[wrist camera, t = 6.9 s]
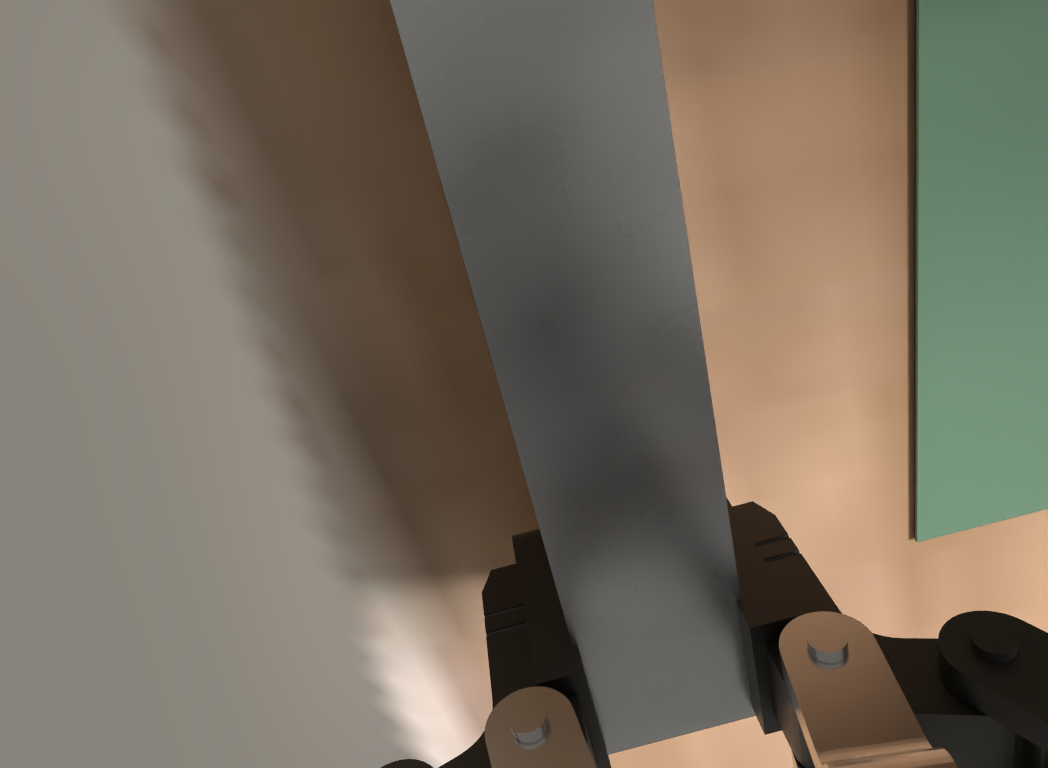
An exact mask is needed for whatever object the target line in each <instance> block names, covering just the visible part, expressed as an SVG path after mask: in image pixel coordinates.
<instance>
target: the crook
mask: <svg viewBox="0 0 1048 768" xmlns="http://www.w3.org/2000/svg"><path fill="white" fill-rule="evenodd" d="M390 3H391V6H392V10H393V13H394V17H395V21H396V24H397V28H398V31H399V35H400V38H401V42H402V45H403V49H404V52H405V56H406V59H407V63H408V66H409V70H410V73H411V77H412V81H413V84H414V88H415V91H416V95H417V98H418V102H419V105H420V109H421V112H422V116H423V119H424V123H425V126H426V130H427V133H428V137H429V141H430V144H431V148H432V151H433V155H434V158H435V162H436V165H437V169H438V172H439V176H440V179H441V183H442V186H443V190H444V193H445V197H446V201H447V204H448V208H449V211H450V215H451V218H452V222H453V225H454V229H455V232H456V236H457V239H458V243H459V246H460V250H461V253H462V257H463V261H464V264H465V268H466V271H467V275H468V278H469V282H470V285H471V289H472V292H473V296H474V299H475V303H476V306H477V310H478V313H479V317H480V320H481V324H482V328H483V331H484V335H485V338H486V342H487V345H488V349H489V352H490V356H491V359H492V363H493V366H494V370H495V373H496V377H497V380H498V384H499V388H500V391H501V395H502V398H503V402H504V405H505V409H506V412H507V416H508V419H509V423H510V426H511V430H512V433H513V437H514V440H515V444H516V448H517V451H518V455H519V458H520V462H521V465H522V469H523V472H524V476H525V479H526V483H527V486H528V490H529V493H530V497H531V500H532V504H533V508H534V511H535V515H536V518H537V522H538V525H539V529H540V532H541V536H542V539H543V543H544V546H545V550H546V553H547V557H548V560H549V564H550V568H551V571H552V575H553V578H554V582H555V585H556V589H557V592H558V596H559V599H560V603H561V606H562V610H563V613H564V617H565V620H566V624H567V628H568V631H569V635H570V638H571V642H572V645H573V646H574V645H578V648H579V651H580V655H581V658H582V662H583V666H584V669H585V673H586V676H587V680H588V684H589V687H590V691H591V694H592V698H593V701H594V705H595V709H596V712H597V716H598V719H599V723H600V726H601V730H602V734H603V737H604V741H605V744H606V748H607V752H608V755H609V754H613V753H617V752H620V751H624V750H628V749H632V748H636V747H639V746H643V745H647V744H651V743H654V742H658V741H662V740H666V739H670V738H673V737H677V736H681V735H685V734H688V733H692V732H696V731H700V730H704V729H707V728H711V727H715V726H719V725H722V724H726V723H730V722H734V721H738V720H741V719H745V718H749V717H753V716H756V714H755V712H754V710H753V707H752V701H751V694H750V687H749V681H748V674H747V668H746V661H745V655H744V648H743V642H742V635H741V628H740V622H739V615H738V609H737V602H740V601H741V595H740V588H739V581H738V574H737V568H736V561H735V554H734V547H733V541H732V534H731V527H730V521H729V514H728V507H727V500H726V494H725V487H724V480H723V473H722V467H721V460H720V453H719V446H718V440H717V433H716V426H715V419H714V413H713V406H712V399H711V393H710V386H709V379H708V372H707V366H706V359H705V352H704V345H703V339H702V332H701V325H700V318H699V312H698V305H697V298H696V291H695V285H694V278H693V271H692V265H691V258H690V251H689V244H688V238H687V231H686V224H685V217H684V211H683V204H682V197H681V190H680V184H679V177H678V170H677V163H676V157H675V150H674V143H673V137H672V130H671V123H670V116H669V110H668V103H667V96H666V89H665V83H664V76H663V69H662V62H661V56H660V49H659V42H658V35H657V29H656V22H655V15H654V9H653V2H652V0H390Z"/></svg>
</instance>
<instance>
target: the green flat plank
mask: <svg viewBox="0 0 1048 768" xmlns="http://www.w3.org/2000/svg"><path fill="white" fill-rule="evenodd" d="M1045 509H1048V0H916V432H915V540H916V541H917V542H920V541H924V540H928V539H932V538H936V537H940V536H944V535H947V534H951V533H955V532H959V531H963V530H967V529H971V528H975V527H979V526H982V525H986V524H990V523H994V522H998V521H1002V520H1006V519H1010V518H1014V517H1018V516H1021V515H1025V514H1029V513H1033V512H1037V511H1041V510H1045Z"/></svg>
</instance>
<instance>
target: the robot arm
mask: <svg viewBox="0 0 1048 768" xmlns="http://www.w3.org/2000/svg"><path fill="white" fill-rule="evenodd" d="M726 500H727V507H728V514H729V521H730V527H731V534H732V541H733V547H734V554H735V561H736V568H737V574H738V581H739V588H740V595H741V601H740V602H737V609H738V615H739V622H740V628H741V635H742V642H743V648H744V655H745V661H746V668H747V674H748V681H749V687H750V694H751V701H752V707H753V710H754V712H755V714H756V716H757V719H758V721H759V723H760V725H761V727H762V729H763V732H764V734H765V735H766V734H769V733H773V732H777V731H781V730H782V731H783V733H784V735H785V737H786V739H787V741H788V743H789V745H790V747H791V751H792V759H793V766H794V768H1048V633H1047V632H1045V631H1043V630H1041V629H1039V628H1037V627H1035V626H1033V625H1031V624H1028V623H1026V622H1024V621H1022V620H1020V619H1018V618H1015V617H1013V616H1010V615H1007V614H1003V613H998V612H993V611H972V612H966V613H962V614H959V615H957V616H955V617H953V618H951V619H950V620H948V621H947V622H946V623H945V624H944V625H943V627H942V629H941V630H940V633H939V638H938V639H917V638H891V637H885V636H881V635H877V634H873V633H872V632H871V631H870V630H869V629H868V628H867V627H866V626H865V625H863V624H862V623H861V622H859V621H858V620H856V619H854V618H852V617H849V616H847V615H844V614H842V613H841V612H840V610H839V609H838V607H837V606H836V605H835V603H834V602H833V600H832V599H831V597H830V596H829V594H828V593H827V591H826V590H825V588H824V587H823V585H822V584H821V582H820V581H819V579H818V578H817V576H816V575H815V573H814V572H813V571H812V569H811V568H810V566H809V565H808V563H807V562H806V560H805V559H804V557H803V556H802V554H800V553H799V550H798V548H797V547H796V545H795V544H794V542H793V541H792V539H791V538H789V536H788V534H787V532H786V531H785V529H784V528H783V526H782V525H781V523H780V522H779V520H778V519H777V517H776V516H775V515H774V514H772V513H771V512H769V511H767V510H766V509H764V508H763V507H761V506H759V505H758V504H756V503H754V502H753V501H752V502H748V503H745V504H741V505H737V506H733V507H732V506H731V504H730V502H729V501H728V499H727V497H726ZM512 540H513V546H514V552H515V558H516V564H513V565H510V566H506V567H502V568H498V569H494V570H491V572H490V574H489V577H488V579H487V581H486V584H485V586H484V589H483V591H482V598H483V608H484V616H485V628H486V634H487V637H486V638H487V649H488V659H489V669H490V679H491V689H492V699H493V709H492V712H491V713H490V715H489V717H488V719H487V722H486V726H485V731H484V732H483V734H482V735H481V737H480V738H479V739H478V740H477V741H476V742H475V743H474V744H473V745H472V746H471V747H470V748H469V749H468V750H466V751H465V752H463V753H462V754H460V755H459V756H457V757H455V758H454V759H452V760H450V761H449V762H447V763H445V764H444V765H442V766H440V767H439V768H611V765H610V760H609V756H608V752H607V748H606V744H605V741H604V737H603V734H602V730H601V726H600V723H599V719H598V716H597V712H596V709H595V705H594V701H593V698H592V694H591V691H590V687H589V684H588V680H587V676H586V673H585V669H584V666H583V662H582V658H581V655H580V651H579V648H578V645H574V646H573V645H572V642H571V638H570V635H569V631H568V628H567V624H566V620H565V617H564V613H563V610H562V606H561V603H560V599H559V596H558V592H557V589H556V585H555V582H554V578H553V575H552V571H551V568H550V564H549V560H548V557H547V553H546V550H545V546H544V543H543V539H542V536H541V532H540V529H536V530H533V531H529V532H525V533H521V534H517V535H514V536H512ZM381 768H433V767H432V766H430V765H429V764H427V763H425V762H423V761H420V760H414V759H405V760H399V761H395V762H392V763H389V764H387V765H385V766H383V767H381Z"/></svg>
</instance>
